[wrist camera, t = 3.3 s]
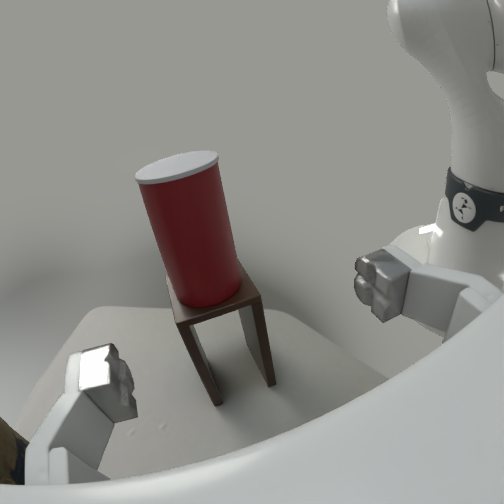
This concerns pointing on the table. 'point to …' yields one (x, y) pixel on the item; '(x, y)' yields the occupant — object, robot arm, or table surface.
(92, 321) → the table surface
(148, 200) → the tube
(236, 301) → the brown wooden stand
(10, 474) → the canister
